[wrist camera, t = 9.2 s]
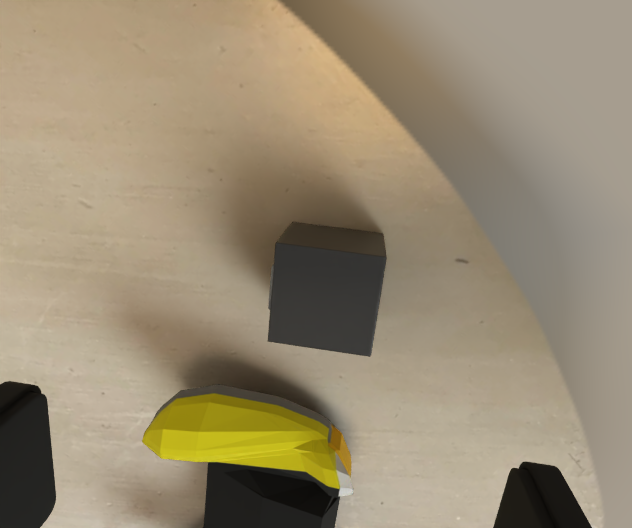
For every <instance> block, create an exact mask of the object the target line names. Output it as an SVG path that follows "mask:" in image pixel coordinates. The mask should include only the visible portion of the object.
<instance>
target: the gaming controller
mask: <svg viewBox="0 0 632 528" xmlns="http://www.w3.org/2000/svg"><path fill="white" fill-rule="evenodd" d="M142 442H143V443H144V444H145V445H146V446H147V447H148V448H150V449H151V450H152V451H153V452H154V453H155V454H157V455H158V456H159V457H160V458H162V459H172V460H183V461H193V462H208V474H207V488H206V503H205V517H204V527H203V528H334V527H335V521H336V516H337V510H338V505H339V500H340V496H346V495H352V494H353V486H352V482H351V456H350V453H349V450H348V448H347V445H346V443H345V440H344V438H343V435H342V433H341V432H340V431H339V430H338V429H336V428H335V426H334V425H333V424H332V423H331V422H330V421H329V420H328V419H326V418H325V417H323V416H322V415H321V414H319V413H316V412H314V411H312V410H310V409H307V408H305V407H303V406H300V405H298V404H296V403H294V402H291V401H289V400H287V399H284V398H282V397H279V396H274V395H269V394H264V393H259V392H254V391H249V390H244V389H240V388H235V387H230V386H225V385H220V384H218V385H212V386H206V387H200V388H194V389H188V390H181V391H180V392H179V393H177V394H176V395H175V396H174V397H173V398H171V399H170V400H169V401H168V402H166V403H165V404H164V405H163V406H162V407H161V408H160V409H159V410H158V411H157V413H156V415H155V417H154V419H153V421H152V422H151V424H150V425H149V427H148V428H147V430H146V431H145V433H144V436H143V440H142Z"/></svg>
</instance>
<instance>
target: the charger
mask: <svg viewBox="0 0 632 528" xmlns="http://www.w3.org/2000/svg"><path fill="white" fill-rule="evenodd" d="M386 259H387V257H386V250H385V242H384V235H383V233H375V232H367V231H360V230H352V229H344V228H336V227H328V226H320V225H313V224H305V223H297V222H292V223H291V224H290V225H289V227H288V228H287V229H286V230H285V232H284V233H283V234H282V236H281V237H280V238H279V239H278V241H277V242H276V245H275V257H274V264H273V265H272V268H271V281H270V294H269V306H268V308H269V309H270V320H269V333H268V341H269V342H275V343H282V344H288V345H295V346H302V347H309V348H315V349H322V350H329V351H336V352H342V353H349V354H356V355H363V356H369V357H370V356H371V353H372V346H373V340H374V334H375V328H376V321H377V315H378V309H379V302H380V296H381V290H382V284H383V277H384V271H385V265H386Z"/></svg>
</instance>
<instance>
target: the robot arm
mask: <svg viewBox="0 0 632 528" xmlns="http://www.w3.org/2000/svg"><path fill="white" fill-rule="evenodd" d="M55 501H56V491H55V480H54V469H53V459H52V448H51V437H50V426H49V415H48V405H47V398H46V396H45V395H44V394H41V390H40V388H39V387H38V386H36V385H31V384H24V383H18V382H11V381H8V382H4V383H2V384H0V528H40V527H41V526H42V525H43V523H44V522H45V521H46V520H47V518H48V517H49V515H50V514H51V512H52V510H53V508H54V505H55ZM493 528H592V527H591V525H590V523H589V522H588V520H587V518H586V516H585V515H584V513H583V511H582V509H581V507H580V506H579V504H578V502H577V500H576V498H575V497H574V495H573V493H572V491H571V490H570V488H569V486H568V484H567V482H566V481H565V479H564V477H563V475H562V473H561V472H560V470H559V469H558V468H557V467H555V466H551V465H544V464H538V463H531V462H523V463H522V464H521V465H520V467H519V469H518V468H512V469H511V471H510V473H509V476H508V479H507V483H506V486H505V490H504V493H503V496H502V500H501V503H500V507H499V510H498V514H497V517H496V520H495V524H494V527H493Z"/></svg>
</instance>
